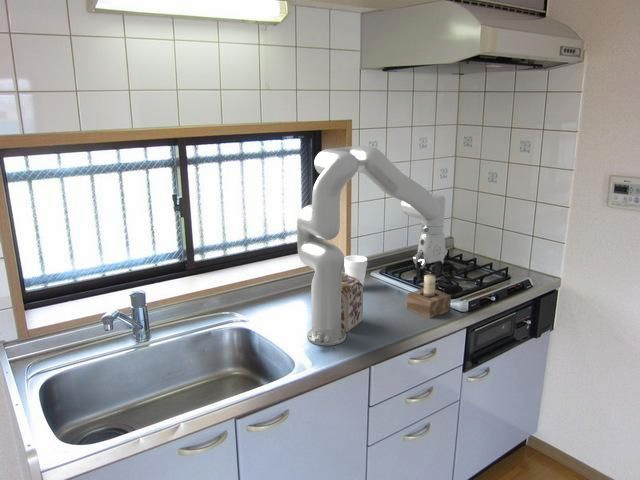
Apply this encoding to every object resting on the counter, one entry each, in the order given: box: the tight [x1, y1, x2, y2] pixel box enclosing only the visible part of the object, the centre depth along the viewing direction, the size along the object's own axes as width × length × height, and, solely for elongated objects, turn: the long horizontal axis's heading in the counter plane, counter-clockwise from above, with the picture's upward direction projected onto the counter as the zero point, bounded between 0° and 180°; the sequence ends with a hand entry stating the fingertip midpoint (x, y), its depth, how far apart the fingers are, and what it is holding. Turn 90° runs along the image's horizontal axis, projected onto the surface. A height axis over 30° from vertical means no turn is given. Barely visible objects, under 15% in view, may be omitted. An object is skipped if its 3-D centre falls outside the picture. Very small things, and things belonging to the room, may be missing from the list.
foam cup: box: [344, 254, 368, 287], centre depth 210 cm, size 10×9×13 cm
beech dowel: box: [423, 274, 437, 298], centre depth 189 cm, size 4×4×12 cm
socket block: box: [406, 288, 452, 319], centre depth 190 cm, size 11×11×6 cm
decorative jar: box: [341, 271, 364, 333], centre depth 177 cm, size 12×12×18 cm
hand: (429, 275), depth 187 cm, fingers open, 9 cm apart
